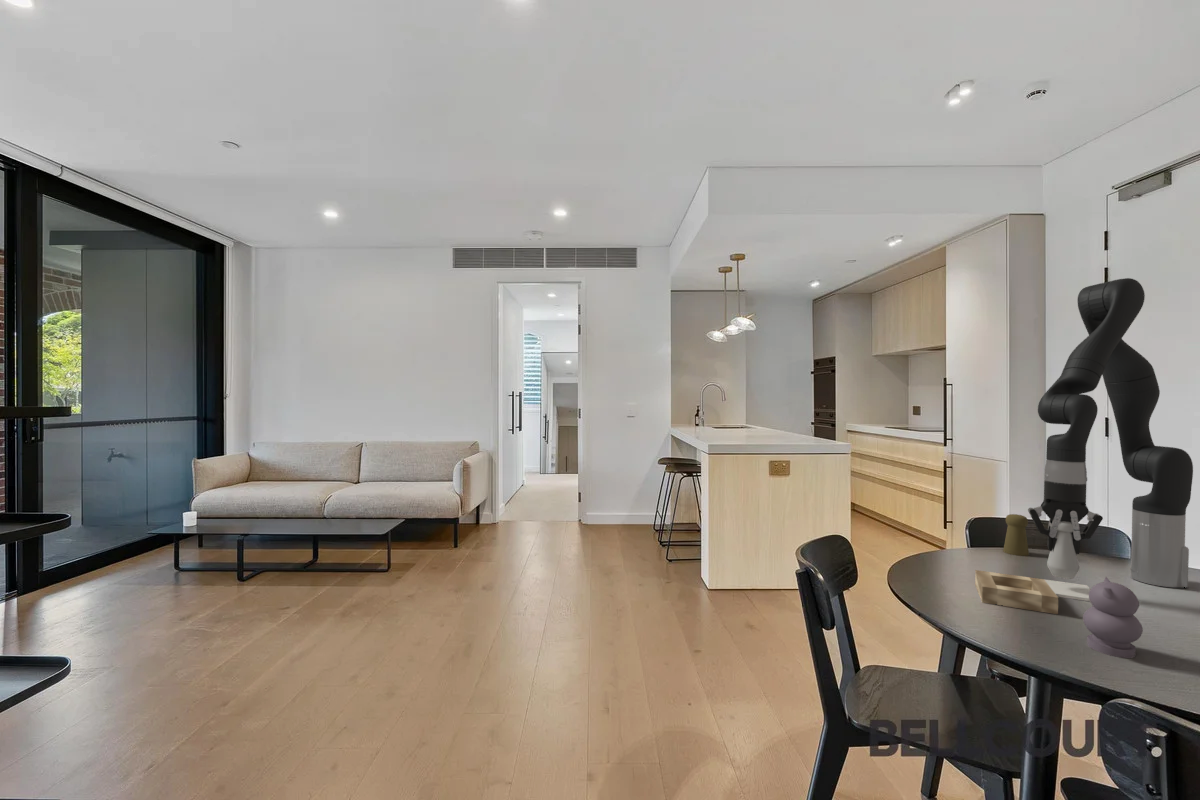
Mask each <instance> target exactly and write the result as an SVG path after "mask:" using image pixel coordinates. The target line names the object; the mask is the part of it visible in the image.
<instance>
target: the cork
mask: <svg viewBox="0 0 1200 800" xmlns="http://www.w3.org/2000/svg"><path fill="white" fill-rule="evenodd" d="M1005 524H1006V525H1007V527H1006V528H1007V529H1006V533H1005V540H1004V545H1003V549H1002V551H1003V553H1005V554H1008V555H1012V556H1016V557H1017V556H1020V557H1028V556H1030V553H1029V552H1030V551H1029V545H1028V538H1027V530H1026V528H1027V527H1028V526H1029V525H1028V524H1029V520H1028V518H1027V517H1026V516H1025V515H1021V514H1015V513H1013V514H1007V515H1006V517H1005Z"/></svg>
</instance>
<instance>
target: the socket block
mask: <svg viewBox="0 0 1200 800" xmlns="http://www.w3.org/2000/svg"><path fill="white" fill-rule="evenodd" d="M974 574H975V575H974V577H975V579H974V580H975V581H974V583H975V588H976V590H977V593H978V596H979V597H980V601H981V603H983V604H989V605H995V604H997V605H996V606H1001V605H1003V606H1002V607H1008V608H1016V609H1022V610H1027V611H1028V610H1029V611H1034V612H1041V613H1046V614H1052V615H1053V614H1054V615H1058V614H1059V597H1057V595H1056V594H1055V593H1054V591H1053V590H1052V589H1051V588H1050V586H1049V585H1048V584H1047V582H1046V581H1045V580H1046V579H1044V578H1037V577H1029V576H1024V575H1023V576H1022V575H1014V574H1009V573H1008V574H1007V573H998V572H995V571H994V572H993V571H987V570H976V569H975V573H974Z"/></svg>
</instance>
